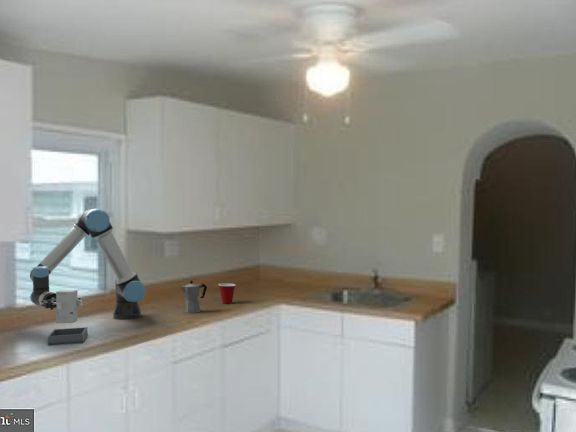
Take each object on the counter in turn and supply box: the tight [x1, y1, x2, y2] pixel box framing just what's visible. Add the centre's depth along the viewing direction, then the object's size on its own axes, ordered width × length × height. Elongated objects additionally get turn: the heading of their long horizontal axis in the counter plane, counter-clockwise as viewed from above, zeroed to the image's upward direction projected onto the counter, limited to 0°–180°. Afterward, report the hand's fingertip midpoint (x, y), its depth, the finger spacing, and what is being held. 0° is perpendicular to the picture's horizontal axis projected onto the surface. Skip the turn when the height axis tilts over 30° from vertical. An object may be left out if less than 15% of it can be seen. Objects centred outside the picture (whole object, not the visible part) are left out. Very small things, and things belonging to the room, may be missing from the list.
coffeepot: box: [179, 280, 208, 314], centre depth 332 cm, size 15×9×18 cm, turn 110°
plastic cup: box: [218, 283, 237, 305], centre depth 356 cm, size 11×11×12 cm
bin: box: [47, 326, 89, 346], centre depth 270 cm, size 15×15×4 cm
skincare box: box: [55, 289, 78, 324], centre depth 270 cm, size 8×6×15 cm
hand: (71, 304), depth 267 cm, fingers closed on skincare box, 9 cm apart
